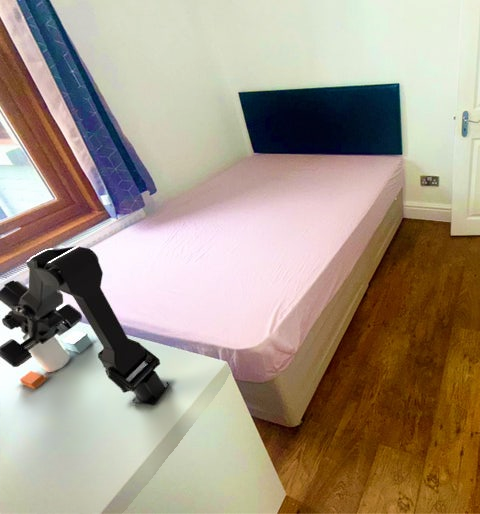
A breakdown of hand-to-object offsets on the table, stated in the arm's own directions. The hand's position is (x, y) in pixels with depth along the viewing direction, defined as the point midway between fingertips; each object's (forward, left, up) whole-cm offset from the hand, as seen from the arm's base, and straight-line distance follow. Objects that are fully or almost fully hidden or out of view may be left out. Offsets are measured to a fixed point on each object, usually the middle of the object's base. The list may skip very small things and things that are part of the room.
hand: (42, 345), depth 100 cm
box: (-1, -7, -7) cm, 10 cm away
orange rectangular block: (0, +7, -7) cm, 10 cm away
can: (-1, 0, -7) cm, 7 cm away
